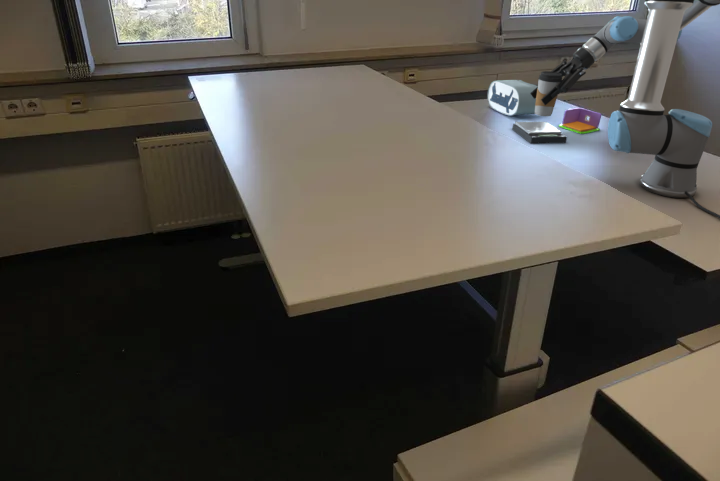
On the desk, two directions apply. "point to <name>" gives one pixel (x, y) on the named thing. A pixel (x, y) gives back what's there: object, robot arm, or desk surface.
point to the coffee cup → (546, 92)
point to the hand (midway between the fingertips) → (537, 99)
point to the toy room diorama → (581, 120)
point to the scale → (539, 132)
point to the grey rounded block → (511, 97)
